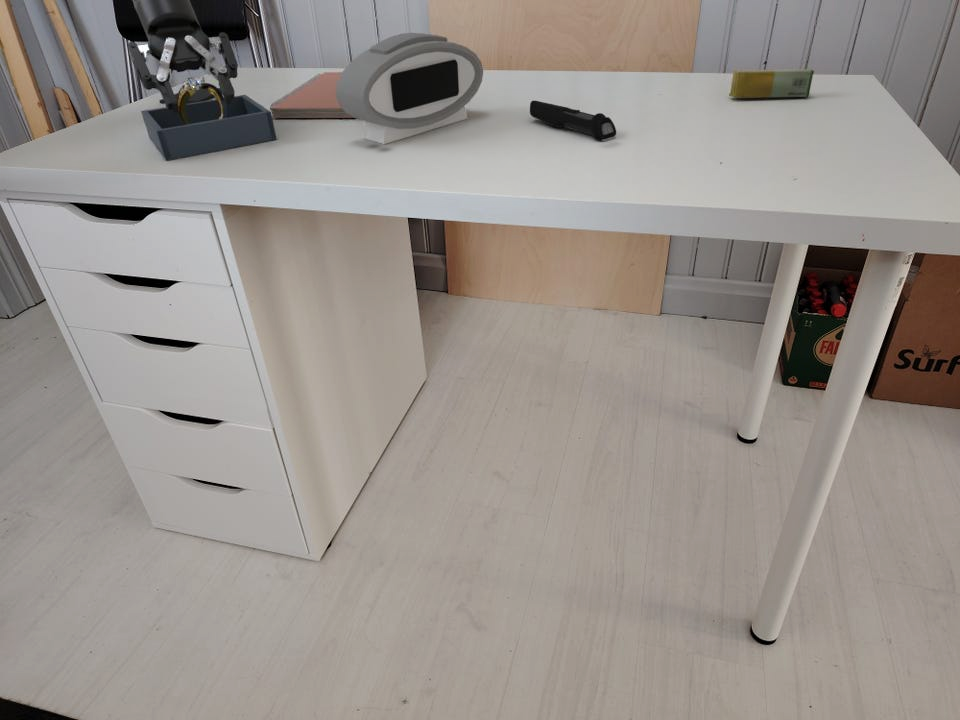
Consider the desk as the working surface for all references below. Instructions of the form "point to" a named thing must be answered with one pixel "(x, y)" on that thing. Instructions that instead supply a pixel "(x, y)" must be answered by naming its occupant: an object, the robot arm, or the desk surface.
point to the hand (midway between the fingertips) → (203, 105)
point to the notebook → (311, 100)
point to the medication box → (771, 83)
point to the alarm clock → (409, 85)
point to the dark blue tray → (209, 127)
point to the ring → (192, 87)
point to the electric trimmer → (574, 120)
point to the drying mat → (197, 96)
